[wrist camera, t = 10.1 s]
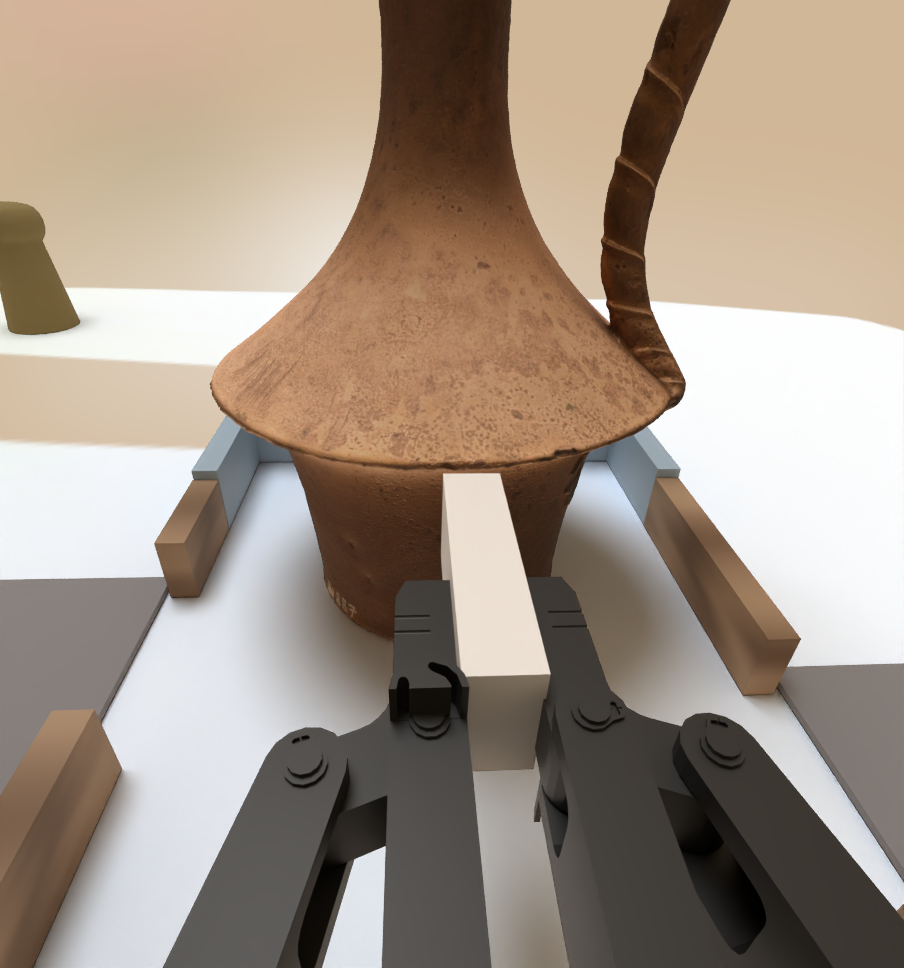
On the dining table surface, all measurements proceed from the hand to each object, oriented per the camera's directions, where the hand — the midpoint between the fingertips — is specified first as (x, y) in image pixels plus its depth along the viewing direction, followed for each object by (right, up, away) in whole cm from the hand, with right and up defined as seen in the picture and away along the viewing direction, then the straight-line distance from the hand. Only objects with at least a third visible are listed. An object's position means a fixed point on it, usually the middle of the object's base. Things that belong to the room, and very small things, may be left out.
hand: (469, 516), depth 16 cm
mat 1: (-17, -6, +6) cm, 19 cm away
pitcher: (-1, -3, +12) cm, 13 cm away
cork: (-41, +17, +41) cm, 61 cm away
